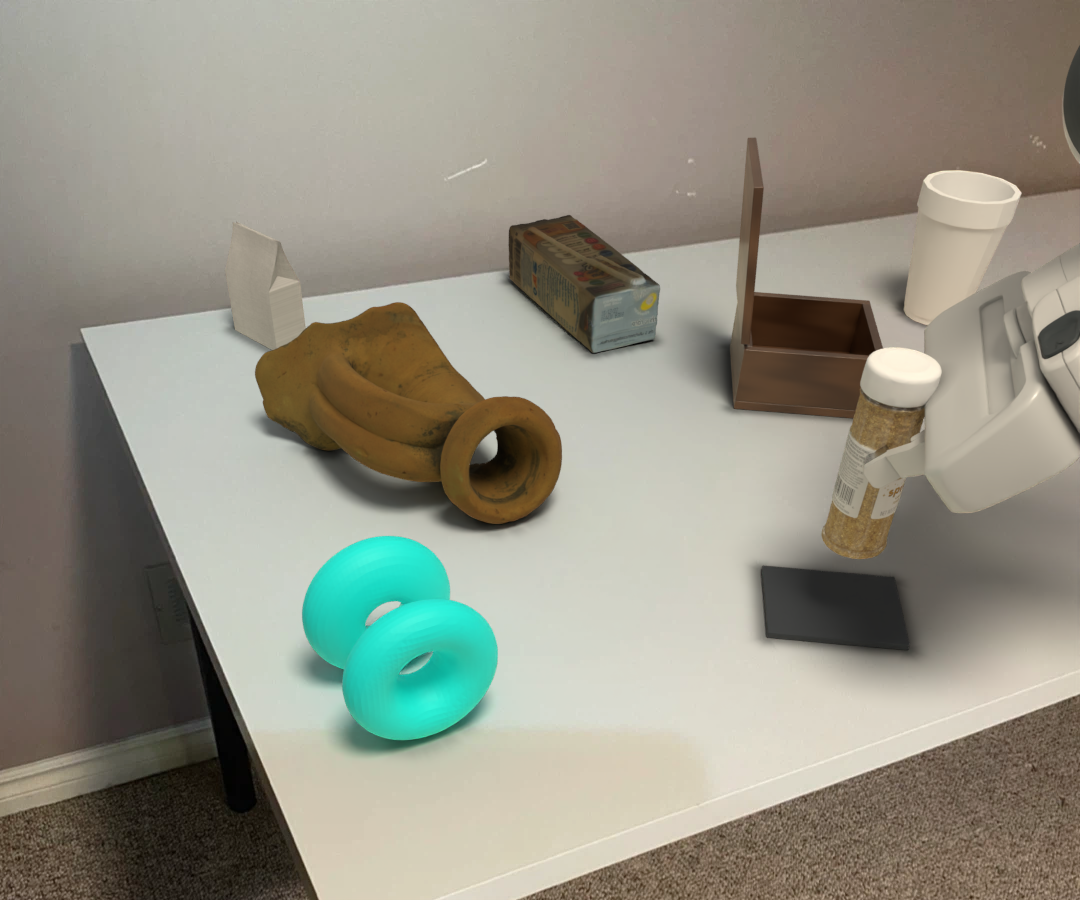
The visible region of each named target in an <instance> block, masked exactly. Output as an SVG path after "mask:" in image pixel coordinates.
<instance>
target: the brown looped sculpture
mask: <svg viewBox="0 0 1080 900" xmlns="http://www.w3.org/2000/svg"><path fill="white" fill-rule="evenodd" d="M254 369H255V370H254V378H255V382H256V384H257V386H258V390H259V392H260V394H261V395H260V396H261V397H262V406H263V409H264V412H265V415H266V416H267V418H268V419H269V420H271V421H273V422H274V423H276V424H277V425H280V426H282V427H283V428H285V429H287V430H288V431H289V432H291V433H292V432H293V433H295V434H296V435H297V436H298V437H299V438H300V439H301V440H302V441H303V442H305V443H306V444H308V445H309V446H311V447H314V448H316V449H319V450H321V451H325V452H329V451H336V450H337V451H338V450H340V449H341V450H343V452H345V453H346V454H347V455H349V457H351V458H352V459H354V460H355V461H356V462H358V463H359V464H361V465H363V466H364V467H366V468H367V469H370V470H372V471H375V472H376V473H379V474H382V475H386V476H389V477H392V478H395V479H399V480H403V481H409V482H417V483H436V482H437V483H439V482H441V485H442V488H443V491H444V494H445V495H446V497H447V498H448V499H449V501H450V502H451V503H452V504H453V505H454V506H456V507H457V508H458V509H459V510H460V511H461V512H463V513H465V514H466V515H468V516H469V517H471V518H472V519H475V520H477V521H479V522H483V523H486V524H490V525H491V524H492V525H501V524H506V523H508V522H515V521H518V520H520V519H523V518H525V517H527V516H529V515H530V514H531V513H532V512H533V511H535V510H537V509H538V508H539V507H540V506H541V505H543V504H544V502H545V501H546V500H547V499H548V498H549V497H550V495H551V494H552V492H553V491H554V489H555V487H556V485H557V483H558V481H559V478H560V475H561V471H562V465H563V445H562V438H561V434H560V433H559V432H558V430H557V428H556V425H555V423H554V421H553V419H552V418H551V417H550V416H549V414H548V413H547V412H546V411H545V409H543V408H542V407H540V406H539V405H537V404H535V403H534V402H533V401H531V400H529V399H527V398H525V397H522V396H521V397H520V396H507V395H506V396H505V395H504V396H491V397H488V398H485V397H484V396H483V395H482V394H481V393H480V392H479V391H478V390H477V389H476V388H475V387H474V386H473V385H472V384H471V383H470V381H468V379H467V378H465V377H464V376H463V374H461V373H460V372H459V371H458V370H457V369H456V368H455V367H454V366H453V365H452V363H451V362H450V360H449V358H448V357H447V356H446V354H445V353H444V351H443V350H442V348H441V347H440V345H439V344H438V342H437V341H436V339H435V338H434V336H433V335H432V334H431V332H430V331H429V330H428V327H427V326H426V324H425V323H424V322H423V320H422V319H421V318H420V315H418V313H417V312H416V311H415V309H414V308H413V307H411V305H409V304H408V303H405V302H401V301H396V302H391V303H389V304H385V305H381V306H372V307H369V308H367V309H366V310H364V311H362V312H361V313H359V314H358V315H356V316H354V317H352V318H349V319H345V320H341V321H337V322H330V323H329V322H327V323H325V322H319V321H314V322H311V323H310V324H309V325H308V326H307V327H306V329H304V330H303V331H302V332H301V334H300V335H299V336H298V337H297V338H295V339H294V340H292V341H291V342H289V343H288V344H285V345H283V346H280V347H279V348H277V349H274V350H271V349H270V350H268V351H265V352H264V353H263V354H262V355H261V356H260V358H259V360H258V361H257V363H256V365H255V368H254ZM492 432H494V434H495V436H496V437H495V439H496V443H497V449H496V453H495V455H494V457H492V459H490V460H488V461H486V462H481V463H477V462H475V463H472V459H473V456H474V454H475V452H476V450H477V448H478V446H480V444H481V442H482V441H483V440H484V439H485V438H486V437H487V436H489V435H490V434H491V433H492Z"/></svg>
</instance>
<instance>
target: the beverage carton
mask: <svg viewBox="0 0 1080 900" xmlns="http://www.w3.org/2000/svg"><path fill="white" fill-rule="evenodd" d="M508 228H509V229H508V272H509V273H508V275H509V280H510V281H512V282H513V284H515V286H517V287H518V288H519V289H520V290H521V291H522V292H524V293H525V294H526V295H527V296H528V297H529V298H530V299H531V300H532V301H533V302H535V303H536V304H537V305H538V306H539V307H540V308H542V310H543V311H545V312H546V313H547V314H548V315H549V316H550V317H551V318H553V320H555V322H557V323H558V324H559V325H560V326H561V327H562V328H564V329H565V331H566V332H568V333H569V334H570V335H571V336H573V337H574V338H575V339H576V340H577V341H578V342H580V343H581V344H582V345H583V346H584V347H585V348H587V349H588V351H590V352H591V353H592V354H595V353H601V352H604V351H609V350H614V349H618V348H622V347H626V346H630V345H633V344H634V345H635V344H638V343H642V342H643V343H644V342H647V341H651V340H655V338H656V332H657V325H658V316H659V300H660V293H661V286H660V285H661V284H659V283H658V282H657V281H655V280H654V279H653V278H652V277H651V276H650V275H648V274H646V273H645V272H644V271H643V270H642V269H640V267H638V266H637V265H635V263H633V262H632V261H631V260H630V259H629V258H627V257H626V256H624V255H623V254H622V253H621V252H619V251H618V250H617V249H616V248H614V247H613V246H611V244H609V243H608V242H607V241H605V240H604V239H603V238H601V237H600V236H599V235H597V234H596V233H595V232H593V231H592V230H591V229H590V228H589V227H588V226H586V225H584V224H583V223H582V222H581V221H579V220H578V219H576V218H574V217H573V215H571V214H567V215H562V216H559V217H553V218H549V219H545V218H544V219H539V220H535V221H531V222H526V223H519V224H518V223H517V224H512V225H510V226H509V227H508Z"/></svg>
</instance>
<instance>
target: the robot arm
mask: <svg viewBox="0 0 1080 900" xmlns="http://www.w3.org/2000/svg"><path fill="white" fill-rule="evenodd" d="M1061 99H1062V100H1061V118H1062V119H1061V121H1062V129H1063V133H1064V137H1065V140H1066V143H1067V145H1068V147H1069V151H1070V152H1071V154H1072V156H1073V158H1074V159H1075V160H1076V162H1077V163H1078V164H1079V165H1080V45H1079V46H1078V47H1077V49H1076V51H1075V53H1074V56H1073V58H1072V60H1071V63H1070V65H1069V68H1068V71H1067V75H1066V77H1065V82H1064V87H1063V93H1062V97H1061ZM924 328H925V329H924V332H923V334H924V335H923V336H924V338H923V341H924V342H923V343H924V346H923V347H924V349H923V351H924V352H923V353H925V354H927V355H929V356H930V357H932V358H933V359H935V360H936V361H937V362H938V363H939V365H940V367H941V370H942V374H941V377H940V381H939V384H938V387H937V389H936V390H935V392H934V393H933V394H932V396H931V397H930V398H929V400H928V401H927V402H926V404H925V417H924V429H923V430H922V431H921V430H920V433H918V434H916V435H914V436H913V437H912V438H911V443H908V444H905V445H902V446H899V447H896V448H893V449H889V447H888V446H887V445H885V446H883V447H881V448H879V449H878V450H876V451H875V452H874V453H871V454H869V455H867V456H866V457H865V461H864V471H863V475H864V476H865V477H866V479H867V480H868V481H869V483H870V484H871V485H872V486H873V487H874V488H882V487H884V486H886V485H887V484H889V483H891V482H893V481H895V480H897V479H899V478H905V477H906V478H911V477H920V476H925V477H926V480H927V481H928V482H929V484H930V485H931V487H932V489H933V490H934V492H935V493H936V494H937V496H938V497H939V499H940V500H941V501H942V503H943V504H944V505H945V506H946V509H948V510H949V511H950V512H951V513H953V514H973V513H977V512H981V511H983V510H986V509H988V508H989V509H990V508H991V507H993V506H995V505H999V504H1000V503H1003V502H1004V501H1006V500H1009V499H1011V498H1013V497H1015V496H1017V495H1019V494H1022V493H1024V492H1025V491H1027V490H1031V489H1032V488H1034V487H1036V486H1038V485H1040V484H1041V483H1044V482H1046V481H1048V480H1050V479H1052V478H1054V477H1056V476H1058V475H1059V474H1061V473H1062V472H1064V471H1065V470H1067V469H1069V468H1070V467H1071V466H1072V465H1074V464H1075V463H1076V462H1077V461H1078V460H1079V459H1080V242H1078V243H1077V244H1075V245H1074V246H1072V247H1071V248H1069V249H1067V250H1065V251H1064V252H1063V253H1060V254H1059V255H1057V256H1056V257H1054V258H1052V259H1051V260H1049V261H1048V262H1046V263H1045V264H1043V265H1041V266H1040V267H1038V268H1037V269H1034V270H1033V271H1028V270H1021V271H1019V272H1018V271H1017V272H1015V273H1012V274H1009V275H1007V276H1005V277H1003V278H1000V279H999V280H997V281H994V282H993V283H991V284H990V285H987V286H986V287H983V288H982V289H980V290H977V291H976V293H975V294H973V295H971V296H969V297H968V298H966V299H964V300H962V301H961V302H959V303H957V304H955V305H953V306H952V307H950V308H948V309H947V310H945V311H943V312H942V313H940V314H939V315H938V316H937V317H936V318H935V319H934V320H933V321H932V322H931V323H930V324H929V325H926V327H924Z"/></svg>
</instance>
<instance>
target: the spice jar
mask: <svg viewBox="0 0 1080 900" xmlns="http://www.w3.org/2000/svg"><path fill="white" fill-rule="evenodd" d="M941 374H942V370H941V367H940V365H939V363H938V362H937V361H936V360H935V359H933V358H932V357H930V356H929V355H927V354H925V353H924V352H922V351H919V350H916V349H913V348H907V347H896V346H894V347H893V346H892V347H890V346H889V347H883V349H879V350H876V351H875V352H873V353H871V354H870V355H869V357H868V358H867V361H866V364H865V367H864V370H863V374H862V378H861V382H860V386H861V388H860V397H859V400H858V404H857V408H856V412H855V415H854V418H852V424H851V425H850V427H849V431H848V434H847V438H846V441H845V445H844V449H843V453H842V457H841V460H840V464H839V468H838V472H837V475H836V480H835V483H834V487H833V490H832V495H831V498H832V499H831V503H830V507H829V512H828V515H827V519H826V521H825V522H826V523H825V524H824V525H823V526H822V529H821V534H820V536H821V539H822V542H823V543H824V545H825V546H826V547H827V548H828V549H829V550H831V551H832V552H834V553H835V554H837V555H839V556H840V557H844V558H847V559H848V558H849V559H851V560H856V559H857V560H868V559H872V558H874V557H875V558H876V557H877V556H879V555H880V554H882V553H883V552H884V550H885V549H886V547H887V543H888V536H889V533H890V529H891V526H892V522H893V519H894V516H895V512H896V511H897V509H898V506H899V503H900V501H901V497H902V493H903V490H904V486H905V483H906V480H907V477H905V478H899V479H897V480H895V481H893V482H891V483H889V484H887V485H886V486H884V487H882V488H874V487H873V486H872V485H871V484H870V483H869V481H868V480H867V479H866V477H865V476H864V475H863V471H864V461H865V457H866V456H867V455H869V454H871V453H874V452H875V451H876V450H878V449H879V448H881V447H883V446H885V445H887V446H888V447H889V449H893V448H896V447H899V446H902V445H905V444H908V443H911V438H912V437H913V436H914V435H916V434H918V433H920V432H921V429H922V426H923V424H924V420H925V404H926V402H927V401H928V400H929V398H930V397H931V396H932V394H933V393H934V392H935V390H936V389H937V387H938V384H939V381H940V377H941Z"/></svg>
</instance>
